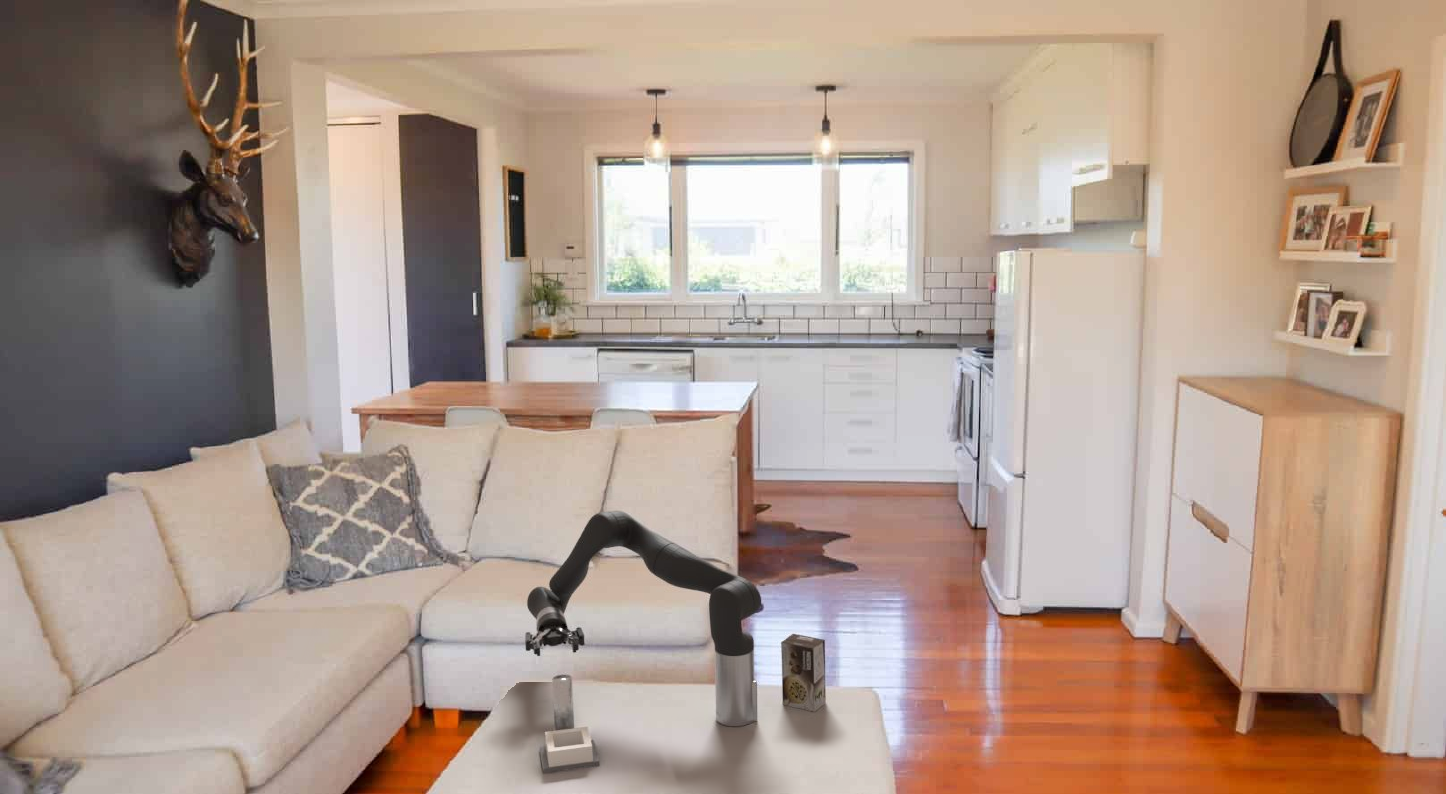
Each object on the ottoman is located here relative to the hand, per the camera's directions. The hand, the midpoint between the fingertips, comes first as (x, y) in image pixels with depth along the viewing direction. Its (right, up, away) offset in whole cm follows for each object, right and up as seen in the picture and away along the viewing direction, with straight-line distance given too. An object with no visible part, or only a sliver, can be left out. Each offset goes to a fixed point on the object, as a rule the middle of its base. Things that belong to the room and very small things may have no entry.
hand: (556, 650), depth 245 cm
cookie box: (+59, -14, +5) cm, 61 cm away
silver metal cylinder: (+3, -17, -9) cm, 20 cm away
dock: (+6, -19, -20) cm, 28 cm away
